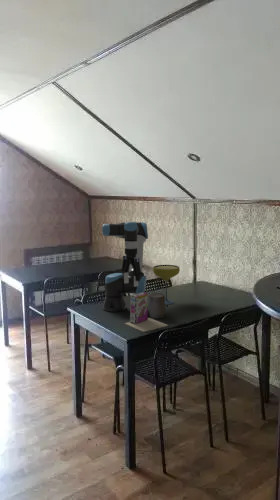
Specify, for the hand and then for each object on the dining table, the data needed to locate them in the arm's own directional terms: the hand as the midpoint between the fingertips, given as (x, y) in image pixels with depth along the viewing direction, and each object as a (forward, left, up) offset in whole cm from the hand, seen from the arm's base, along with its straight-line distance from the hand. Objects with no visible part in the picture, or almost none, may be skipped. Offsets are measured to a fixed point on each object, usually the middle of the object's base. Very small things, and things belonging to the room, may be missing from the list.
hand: (131, 284), depth 269 cm
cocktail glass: (-16, +41, -22) cm, 49 cm away
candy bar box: (+8, 0, -21) cm, 23 cm away
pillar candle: (+5, +16, -22) cm, 27 cm away
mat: (+15, 0, -21) cm, 26 cm away
